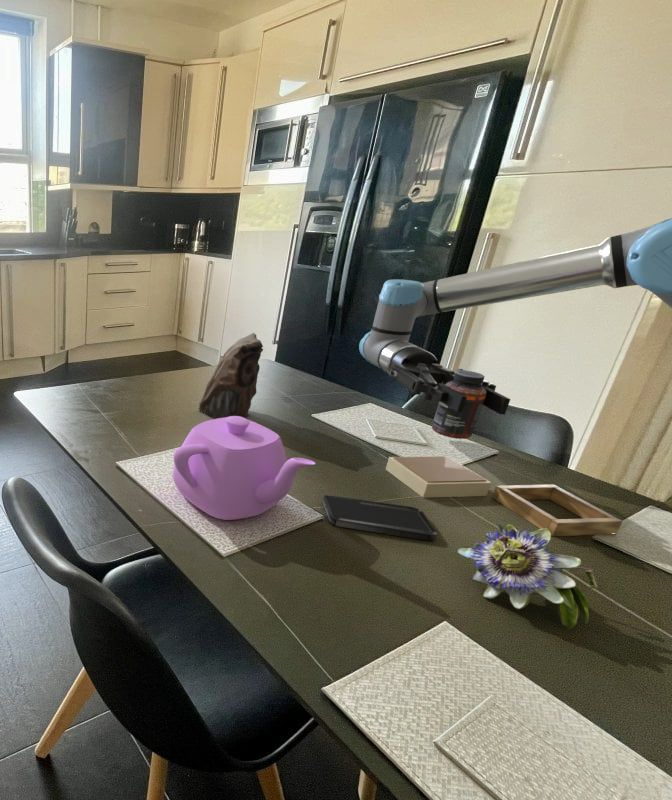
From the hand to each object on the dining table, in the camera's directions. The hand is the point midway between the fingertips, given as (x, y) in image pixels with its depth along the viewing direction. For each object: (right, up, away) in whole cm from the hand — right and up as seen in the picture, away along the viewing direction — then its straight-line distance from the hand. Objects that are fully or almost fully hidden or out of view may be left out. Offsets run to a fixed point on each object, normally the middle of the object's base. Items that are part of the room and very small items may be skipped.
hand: (483, 405), depth 80 cm
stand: (0, -15, +11) cm, 18 cm away
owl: (-30, -3, +40) cm, 50 cm away
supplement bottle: (0, -5, +8) cm, 9 cm away
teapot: (-40, -17, +5) cm, 44 cm away
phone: (-18, -19, 0) cm, 26 cm away
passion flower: (-9, -25, -15) cm, 31 cm away
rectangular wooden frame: (+13, -19, +2) cm, 23 cm away
